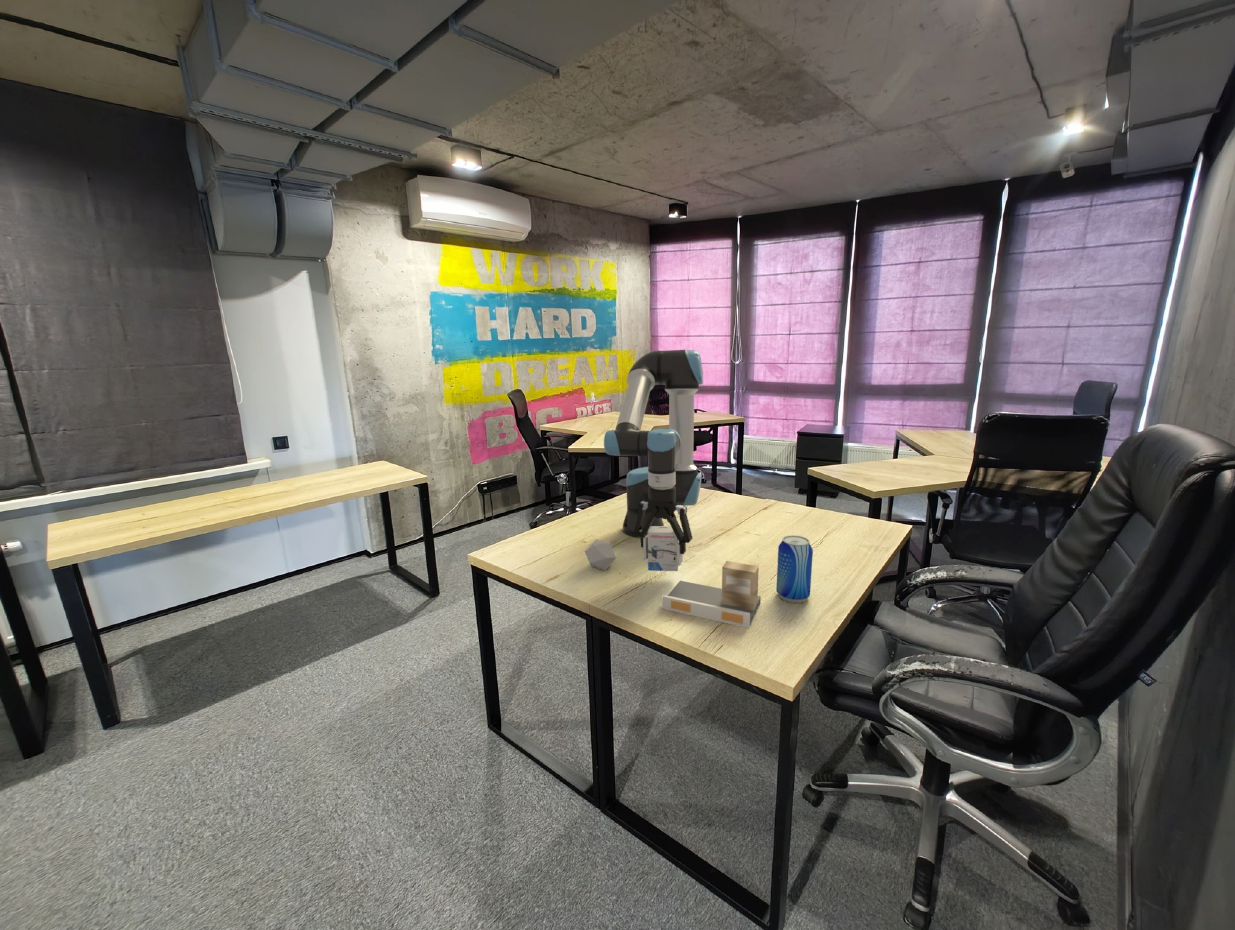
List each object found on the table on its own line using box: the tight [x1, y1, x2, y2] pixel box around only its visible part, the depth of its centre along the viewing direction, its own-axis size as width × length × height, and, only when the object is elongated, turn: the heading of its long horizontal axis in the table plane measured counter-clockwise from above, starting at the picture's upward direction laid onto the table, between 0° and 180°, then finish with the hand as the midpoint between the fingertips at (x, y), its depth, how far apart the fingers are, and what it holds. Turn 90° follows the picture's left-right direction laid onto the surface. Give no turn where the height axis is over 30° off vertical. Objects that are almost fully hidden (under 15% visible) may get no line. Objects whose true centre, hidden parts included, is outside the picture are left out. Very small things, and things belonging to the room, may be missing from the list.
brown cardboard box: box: [721, 560, 760, 611], centre depth 123 cm, size 8×4×10 cm, turn 63°
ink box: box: [647, 525, 679, 572], centre depth 141 cm, size 9×5×12 cm, turn 84°
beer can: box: [775, 534, 814, 604], centre depth 129 cm, size 8×8×16 cm
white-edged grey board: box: [661, 580, 762, 629], centre depth 127 cm, size 22×13×4 cm, turn 63°
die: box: [584, 538, 617, 571], centre depth 152 cm, size 8×9×10 cm
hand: (662, 560), depth 142 cm, fingers closed on ink box, 9 cm apart
